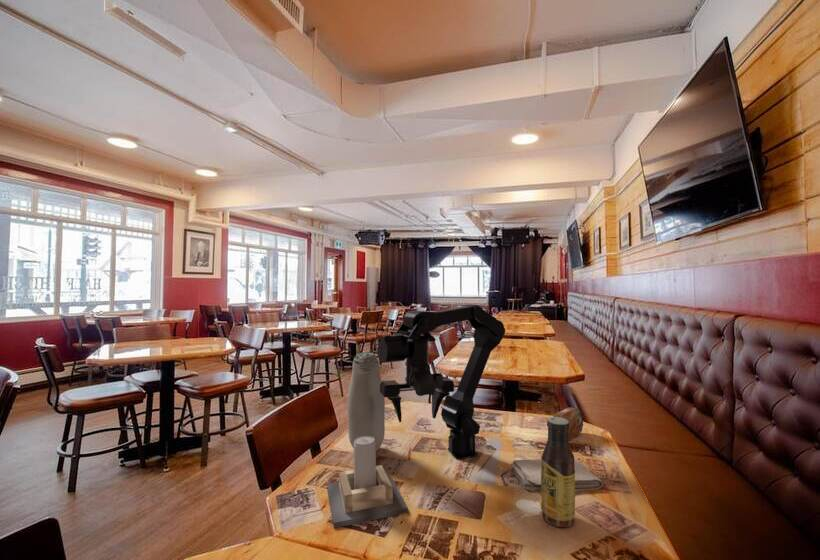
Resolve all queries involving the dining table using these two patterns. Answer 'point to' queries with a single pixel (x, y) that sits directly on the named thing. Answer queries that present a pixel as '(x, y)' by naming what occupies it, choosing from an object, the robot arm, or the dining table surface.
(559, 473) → the sauce bottle
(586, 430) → the dining table surface
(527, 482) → the washcloth
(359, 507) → the can collar
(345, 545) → the dining table surface
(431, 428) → the dining table surface
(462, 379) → the robot arm
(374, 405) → the grey bottle
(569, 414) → the brown rounded slab
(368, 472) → the beverage can
